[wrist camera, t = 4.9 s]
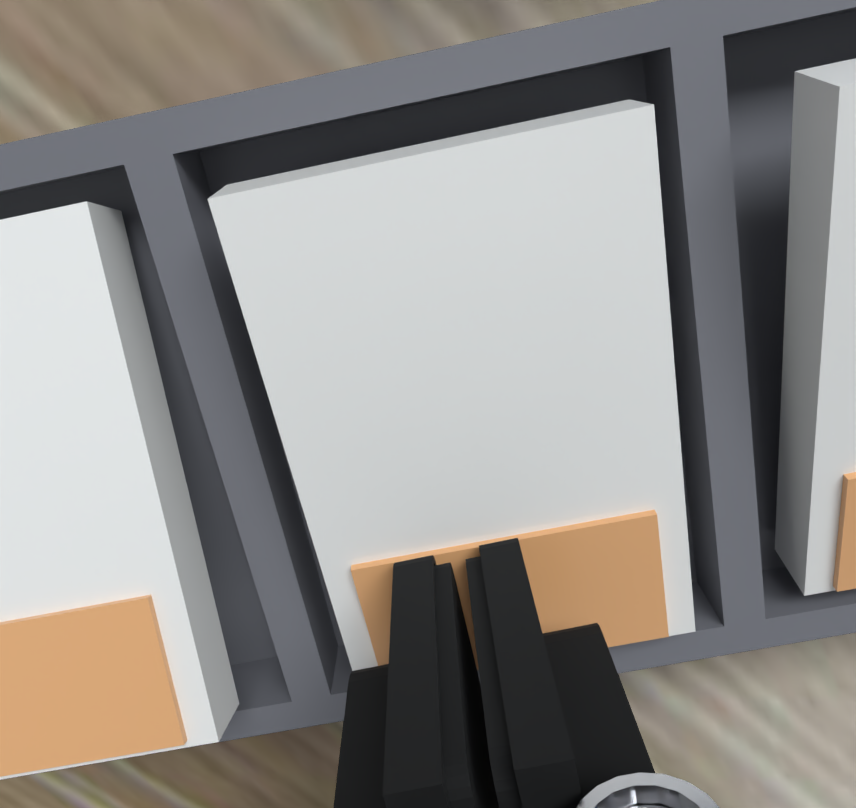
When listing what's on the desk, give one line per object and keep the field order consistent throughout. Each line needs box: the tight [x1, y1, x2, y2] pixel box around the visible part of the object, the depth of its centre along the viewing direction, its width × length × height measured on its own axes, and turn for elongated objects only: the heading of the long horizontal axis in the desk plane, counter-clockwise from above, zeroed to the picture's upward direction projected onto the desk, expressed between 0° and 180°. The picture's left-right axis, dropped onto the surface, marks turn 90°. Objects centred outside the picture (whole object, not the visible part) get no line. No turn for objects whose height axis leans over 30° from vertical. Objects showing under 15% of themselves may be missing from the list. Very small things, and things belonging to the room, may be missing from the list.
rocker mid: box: [208, 99, 696, 671], centre depth 10 cm, size 5×7×1 cm
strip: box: [0, 0, 856, 780], centre depth 12 cm, size 26×9×4 cm, turn 101°
